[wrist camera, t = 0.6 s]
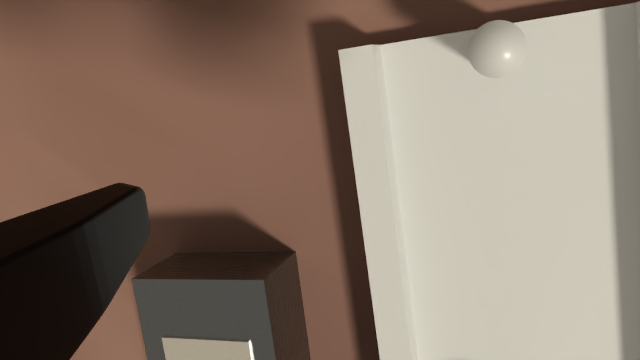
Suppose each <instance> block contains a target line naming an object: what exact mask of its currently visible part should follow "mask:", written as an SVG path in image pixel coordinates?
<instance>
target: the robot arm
mask: <svg viewBox="0 0 640 360" xmlns="http://www.w3.org/2000/svg"><path fill="white" fill-rule="evenodd" d="M149 232H150V222H149V216H148V209H147V203H146V196H145V193H144V191H143V190H142V189H141V188H140V187H137V186H133V185H129V184H125V183H116V184H113V185H110V186H107V187H104V188H101V189H98V190H95V191H92V192H89V193H86V194H83V195H80V196H77V197H75V198H72V199H69V200H66V201H63V202H60V203H57V204H54V205H51V206H48V207H45V208H42V209H39V210H36V211H33V212H30V213H27V214H24V215H21V216H18V217H15V218H12V219H9V220H6V221H3V222H1V223H0V360H70V358H71V357H72V356H73V354H74V353H75V352H76V350H77V349H78V348H79V346H80V345H81V343H82V342H83V341H84V339H85V338H86V337H87V335H88V334H89V333H90V331H91V330H92V329H93V327H94V326H95V324H96V323H97V322H98V320H99V319H100V317H101V316H102V314H103V313H104V312H105V310H106V308H107V307H108V305H109V304H110V302H111V300H112V299H113V297H114V295H115V294H116V292H117V290H118V289H119V287H120V285H121V283H122V282H123V280H124V278H125V277H126V275H127V273H128V271H129V270H130V268H131V266H132V265H133V263H134V261H135V259H136V258H137V256H138V254H139V253H140V251H141V249H142V248H143V246H144V244H145V242H146V241H147V238H148V236H149Z"/></svg>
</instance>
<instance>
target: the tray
mask: <svg viewBox="0 0 640 360" xmlns="http://www.w3.org/2000/svg"><path fill="white" fill-rule="evenodd" d="M338 52H339V60H340V67H341V75H342V82H343V89H344V97H345V104H346V112H347V119H348V127H349V134H350V141H351V149H352V156H353V164H354V171H355V178H356V186H357V193H358V201H359V208H360V215H361V223H362V230H363V238H364V245H365V253H366V260H367V267H368V275H369V282H370V290H371V297H372V304H373V312H374V319H375V327H376V334H377V341H378V349H379V356H380V360H640V1H638V2H636V3H631V4H625V5H619V6H613V7H607V8H601V9H595V10H589V11H583V12H576V13H570V14H564V15H558V16H552V17H546V18H540V19H534V20H528V21H522V22H516V23H511V22H509V21H505V20H494V21H490V22H487V23H485V24H483V25H482V26H480V27H479V28H478V29H474V30H468V31H462V32H456V33H450V34H443V35H437V36H431V37H425V38H419V39H413V40H407V41H401V42H395V43H389V44H383V45H373V44H372V45H366V46H360V47H354V48H348V49H342V50H338Z"/></svg>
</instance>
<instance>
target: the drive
mask: <svg viewBox="0 0 640 360" xmlns="http://www.w3.org/2000/svg"><path fill="white" fill-rule="evenodd" d="M132 282H133V287H134V292H135V297H136V302H137V307H138V312H139V317H140V322H141V328H142V333H143V338H144V343H145V348H146V353H147V358H148V360H311V359H310V352H309V345H308V338H307V330H306V323H305V316H304V309H303V302H302V294H301V287H300V280H299V273H298V266H297V259H296V252H229V253H176V254H174V255H172V256H170V257H169V258H167V259H165V260H164V261H162V262H160V263H159V264H157V265H155V266H153V267H152V268H150V269H148V270H147V271H145V272H143V273H141V274H140V275H138V276H136V277H135V278H133V279H132Z"/></svg>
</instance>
